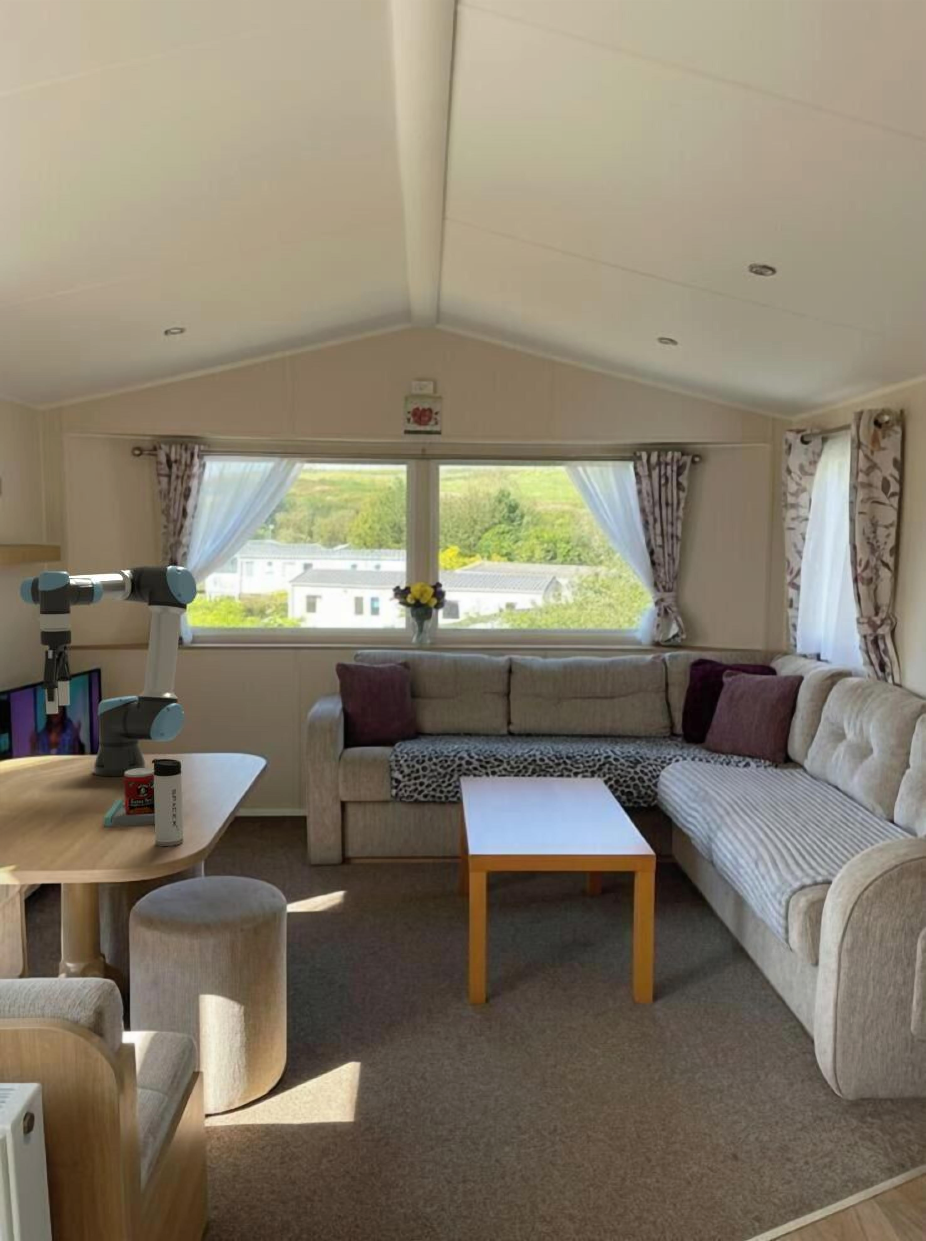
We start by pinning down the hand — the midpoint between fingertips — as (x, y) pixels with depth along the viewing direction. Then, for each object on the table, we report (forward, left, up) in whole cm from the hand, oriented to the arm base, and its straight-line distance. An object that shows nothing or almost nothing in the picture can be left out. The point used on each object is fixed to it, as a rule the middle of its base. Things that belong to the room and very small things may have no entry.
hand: (58, 709), depth 256 cm
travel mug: (+37, +32, -27) cm, 56 cm away
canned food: (+11, +22, -26) cm, 36 cm away
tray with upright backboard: (+11, +22, -27) cm, 36 cm away
